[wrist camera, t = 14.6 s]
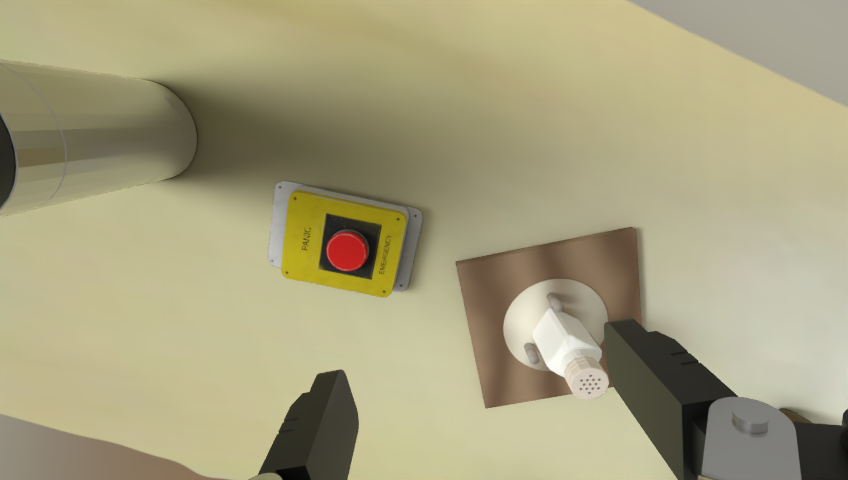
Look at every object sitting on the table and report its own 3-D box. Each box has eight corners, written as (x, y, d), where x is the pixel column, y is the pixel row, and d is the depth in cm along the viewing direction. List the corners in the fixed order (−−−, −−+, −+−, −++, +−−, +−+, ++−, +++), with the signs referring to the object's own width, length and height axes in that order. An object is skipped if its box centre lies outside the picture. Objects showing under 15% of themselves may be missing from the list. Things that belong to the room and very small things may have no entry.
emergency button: (404, 309, 38) (250, 279, 37) (406, 290, 42) (268, 263, 42) (424, 219, 36) (259, 184, 35) (424, 208, 40) (277, 177, 39)
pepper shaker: (528, 333, 42) (556, 393, 33) (548, 303, 41) (583, 356, 32) (560, 348, 42) (596, 411, 33) (580, 319, 41) (624, 375, 32)
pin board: (484, 402, 46) (489, 426, 42) (455, 261, 41) (458, 275, 37) (640, 375, 45) (658, 397, 41) (630, 227, 40) (650, 237, 36)
